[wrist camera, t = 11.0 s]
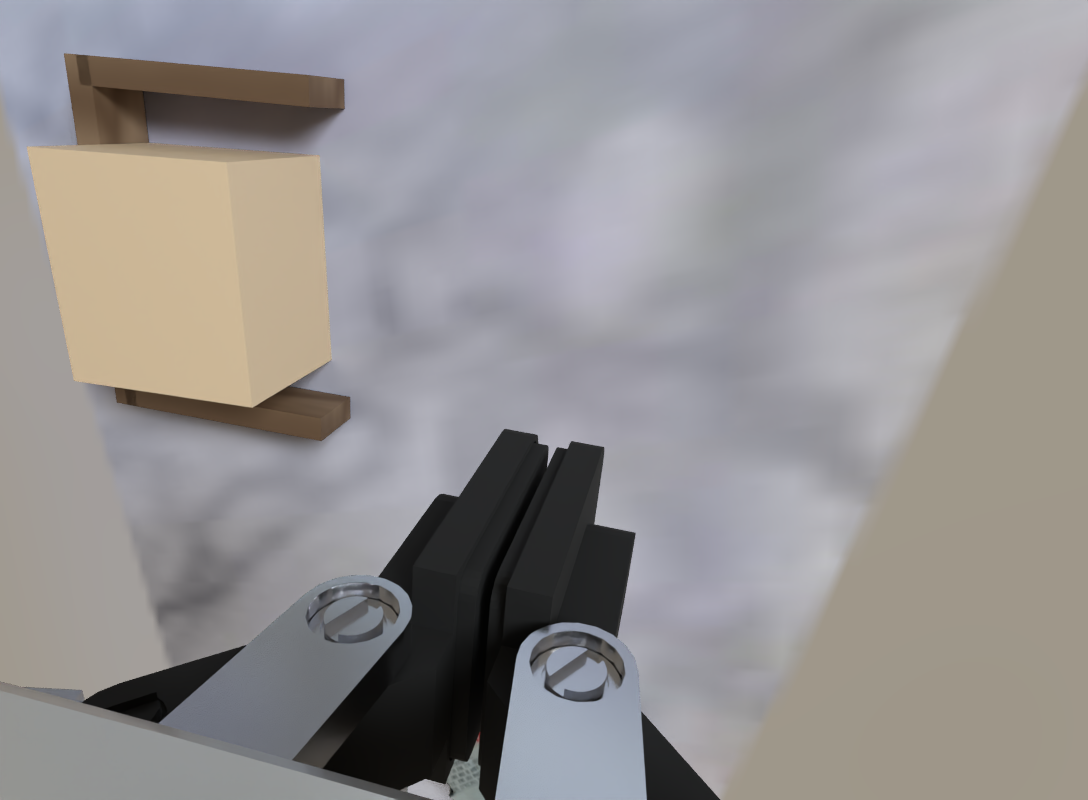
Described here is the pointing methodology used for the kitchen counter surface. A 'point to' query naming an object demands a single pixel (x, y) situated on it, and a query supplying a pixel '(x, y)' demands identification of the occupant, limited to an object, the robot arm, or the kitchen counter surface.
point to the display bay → (119, 118)
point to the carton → (187, 266)
